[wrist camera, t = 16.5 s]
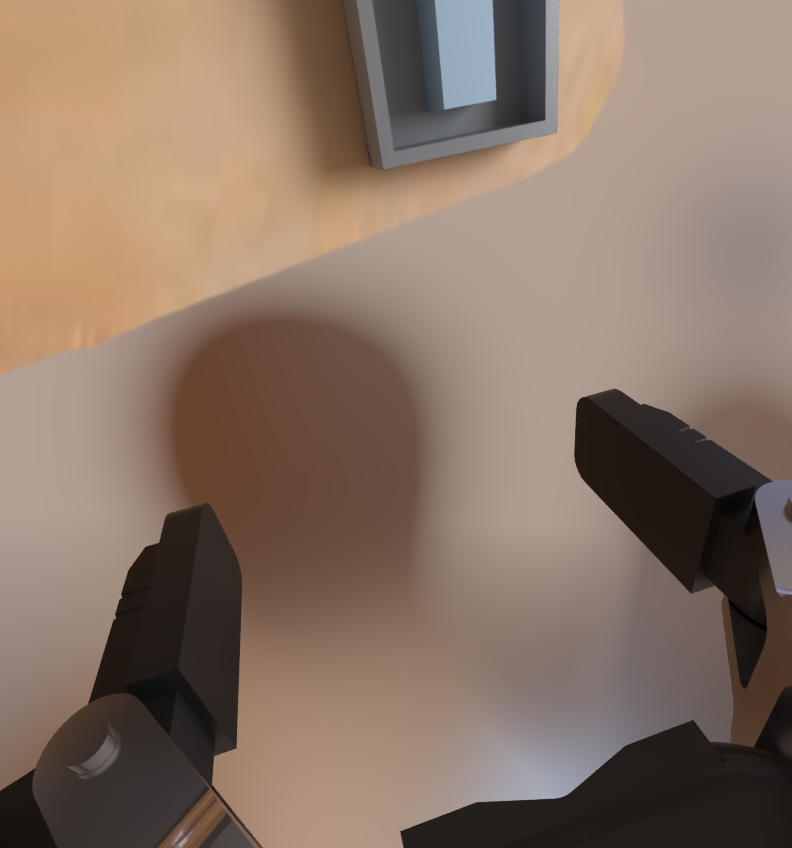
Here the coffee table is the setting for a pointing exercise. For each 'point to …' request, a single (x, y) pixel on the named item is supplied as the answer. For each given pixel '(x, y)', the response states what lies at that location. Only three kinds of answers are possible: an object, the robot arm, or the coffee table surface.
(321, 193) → the coffee table surface
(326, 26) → the coffee table surface
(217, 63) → the coffee table surface
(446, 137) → the tray
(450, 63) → the blue grey bar
